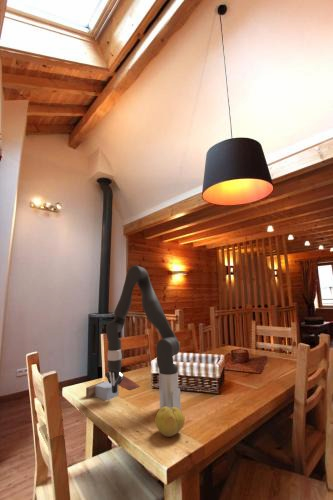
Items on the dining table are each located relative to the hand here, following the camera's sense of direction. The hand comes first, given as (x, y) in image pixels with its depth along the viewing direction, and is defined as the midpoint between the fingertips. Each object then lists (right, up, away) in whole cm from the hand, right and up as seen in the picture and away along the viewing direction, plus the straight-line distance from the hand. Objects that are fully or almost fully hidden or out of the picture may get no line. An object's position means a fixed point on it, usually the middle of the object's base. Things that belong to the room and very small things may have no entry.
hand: (114, 392), depth 137 cm
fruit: (+29, +2, -35) cm, 46 cm away
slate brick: (-5, -5, +5) cm, 9 cm away
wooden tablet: (+1, -9, +25) cm, 27 cm away
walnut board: (-12, -6, +8) cm, 15 cm away
